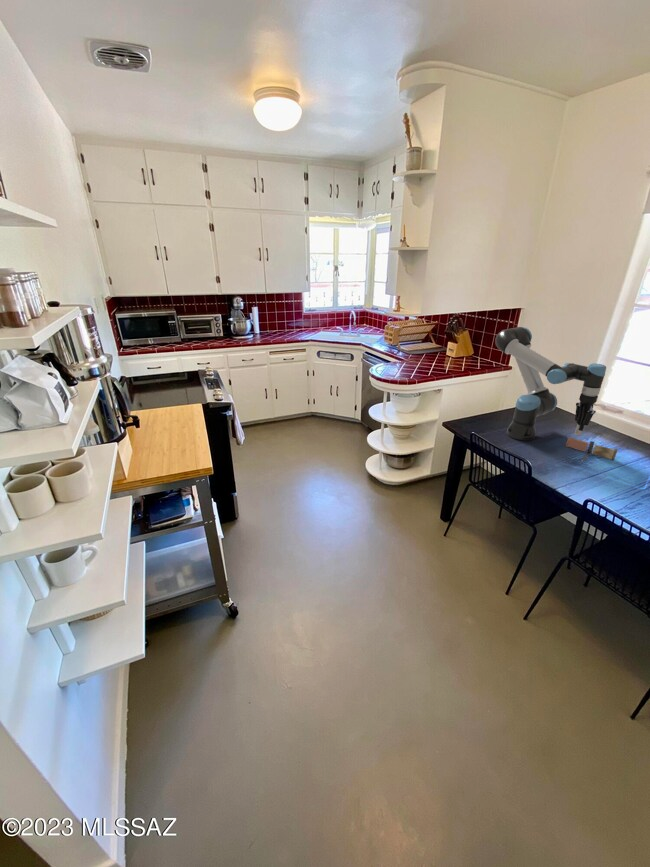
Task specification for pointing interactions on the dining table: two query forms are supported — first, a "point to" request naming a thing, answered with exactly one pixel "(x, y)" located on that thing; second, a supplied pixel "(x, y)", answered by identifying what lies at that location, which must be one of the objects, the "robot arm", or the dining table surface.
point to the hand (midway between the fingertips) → (577, 434)
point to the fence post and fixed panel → (602, 451)
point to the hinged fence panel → (576, 444)
